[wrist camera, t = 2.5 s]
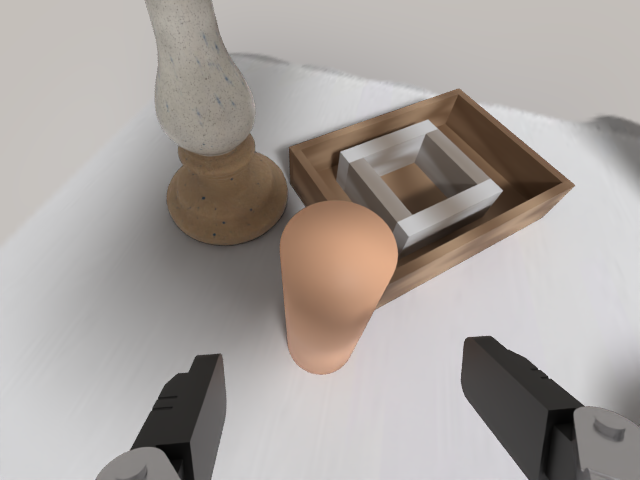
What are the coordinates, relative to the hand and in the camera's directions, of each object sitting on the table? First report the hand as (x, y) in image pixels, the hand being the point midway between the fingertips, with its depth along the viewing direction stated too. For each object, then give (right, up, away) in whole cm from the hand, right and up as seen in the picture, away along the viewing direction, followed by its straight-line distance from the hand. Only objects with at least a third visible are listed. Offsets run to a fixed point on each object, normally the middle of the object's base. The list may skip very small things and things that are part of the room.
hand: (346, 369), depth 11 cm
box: (+7, +7, +16) cm, 19 cm away
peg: (-1, -2, +10) cm, 10 cm away
